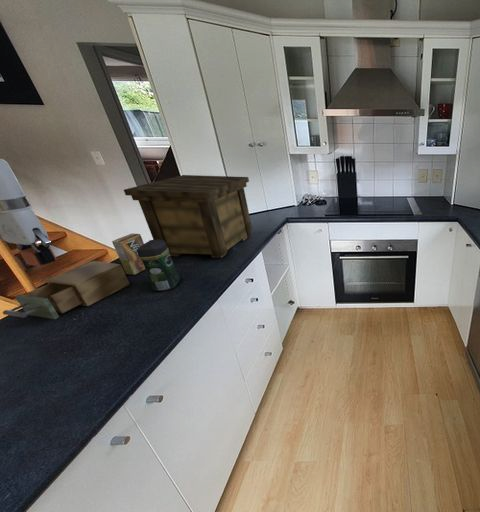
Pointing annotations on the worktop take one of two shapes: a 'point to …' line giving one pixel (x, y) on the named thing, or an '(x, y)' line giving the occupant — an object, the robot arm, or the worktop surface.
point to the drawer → (47, 301)
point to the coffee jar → (158, 265)
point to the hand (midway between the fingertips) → (41, 261)
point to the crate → (196, 212)
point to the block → (32, 257)
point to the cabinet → (93, 280)
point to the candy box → (129, 253)
